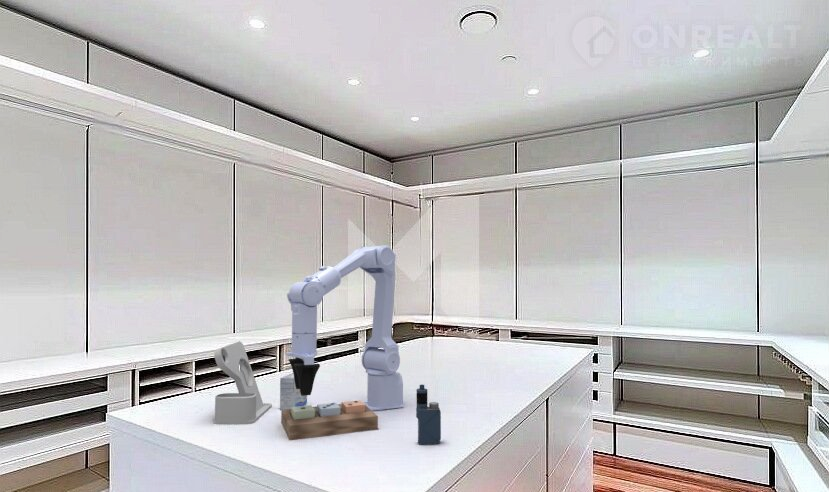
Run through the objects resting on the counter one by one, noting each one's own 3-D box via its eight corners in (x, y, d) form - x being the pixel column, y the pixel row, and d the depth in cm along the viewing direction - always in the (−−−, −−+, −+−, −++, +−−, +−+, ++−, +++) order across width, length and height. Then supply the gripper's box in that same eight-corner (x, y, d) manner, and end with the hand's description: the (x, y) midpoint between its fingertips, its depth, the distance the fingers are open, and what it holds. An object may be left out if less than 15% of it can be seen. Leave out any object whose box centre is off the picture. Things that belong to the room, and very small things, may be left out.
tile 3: (335, 411, 115) (335, 402, 115) (340, 415, 111) (340, 406, 111) (316, 413, 113) (317, 403, 113) (320, 418, 109) (320, 408, 109)
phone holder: (252, 424, 113) (254, 348, 114) (209, 424, 112) (212, 348, 114) (273, 405, 130) (274, 339, 131) (236, 406, 130) (238, 340, 131)
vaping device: (415, 441, 101) (415, 383, 102) (439, 440, 101) (439, 383, 102) (416, 445, 98) (416, 386, 99) (441, 444, 99) (441, 386, 100)
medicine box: (294, 411, 125) (295, 377, 125) (279, 410, 126) (279, 377, 126) (307, 403, 132) (307, 372, 133) (292, 402, 133) (293, 371, 134)
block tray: (360, 413, 122) (360, 401, 122) (377, 429, 109) (377, 415, 109) (281, 422, 114) (281, 409, 114) (289, 440, 101) (289, 425, 101)
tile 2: (359, 408, 117) (359, 399, 117) (364, 413, 113) (365, 404, 113) (341, 410, 115) (341, 401, 115) (346, 415, 111) (346, 406, 111)
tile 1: (311, 413, 112) (311, 404, 113) (314, 418, 108) (314, 409, 108) (291, 415, 111) (291, 406, 111) (294, 421, 106) (294, 411, 107)
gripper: (282, 330, 116) (281, 386, 115) (291, 336, 103) (290, 400, 102) (311, 329, 119) (310, 384, 118) (323, 335, 106) (322, 397, 104)
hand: (303, 391), depth 110 cm, fingers open, 7 cm apart
